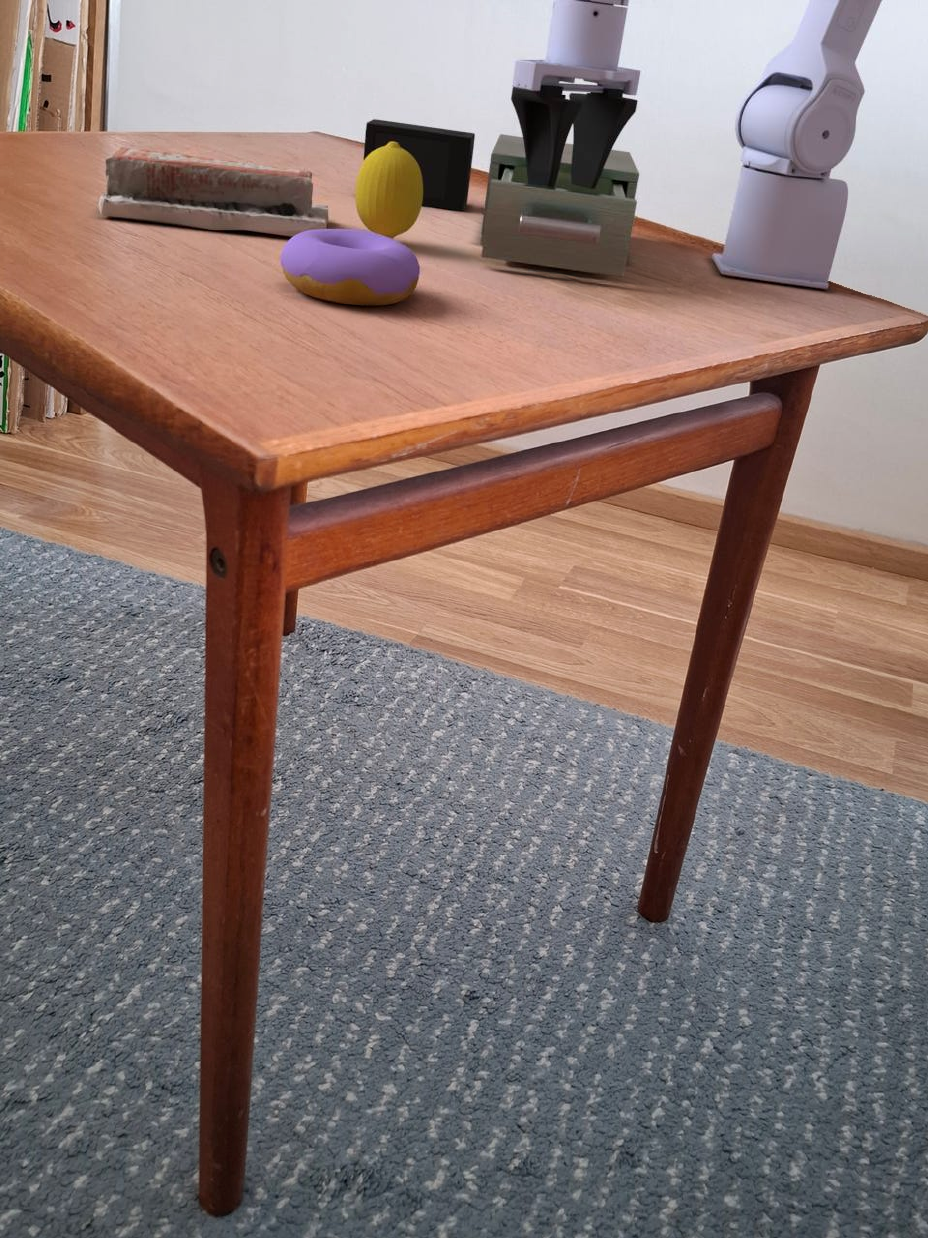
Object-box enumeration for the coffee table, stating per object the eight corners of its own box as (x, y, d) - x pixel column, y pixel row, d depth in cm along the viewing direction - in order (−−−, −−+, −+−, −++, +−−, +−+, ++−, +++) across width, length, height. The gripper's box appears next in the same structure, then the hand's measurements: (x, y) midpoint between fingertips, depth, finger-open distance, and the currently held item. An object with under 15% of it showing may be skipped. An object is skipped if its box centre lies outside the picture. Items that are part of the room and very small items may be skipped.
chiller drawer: (626, 290, 91) (640, 211, 88) (477, 269, 91) (487, 189, 88) (616, 243, 108) (628, 176, 105) (490, 226, 108) (499, 158, 105)
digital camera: (469, 203, 123) (477, 131, 120) (463, 211, 119) (472, 136, 115) (369, 189, 124) (375, 116, 120) (360, 196, 119) (366, 121, 116)
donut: (249, 271, 83) (265, 200, 82) (356, 293, 89) (373, 228, 88) (324, 309, 77) (343, 232, 75) (435, 330, 83) (454, 260, 81)
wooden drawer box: (622, 264, 104) (639, 173, 101) (479, 244, 104) (491, 152, 101) (615, 233, 118) (630, 151, 115) (489, 215, 118) (499, 133, 115)
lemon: (408, 254, 97) (419, 149, 93) (343, 243, 98) (351, 139, 94) (424, 243, 102) (434, 143, 98) (361, 232, 103) (369, 133, 99)
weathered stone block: (95, 153, 92) (118, 137, 101) (96, 218, 94) (119, 197, 103) (329, 180, 94) (332, 162, 103) (325, 243, 97) (328, 220, 105)
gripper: (579, 0, 85) (549, 200, 91) (683, 15, 95) (650, 193, 101) (501, -11, 88) (478, 182, 95) (610, 5, 99) (582, 177, 105)
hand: (562, 187), depth 98 cm, fingers open, 6 cm apart
